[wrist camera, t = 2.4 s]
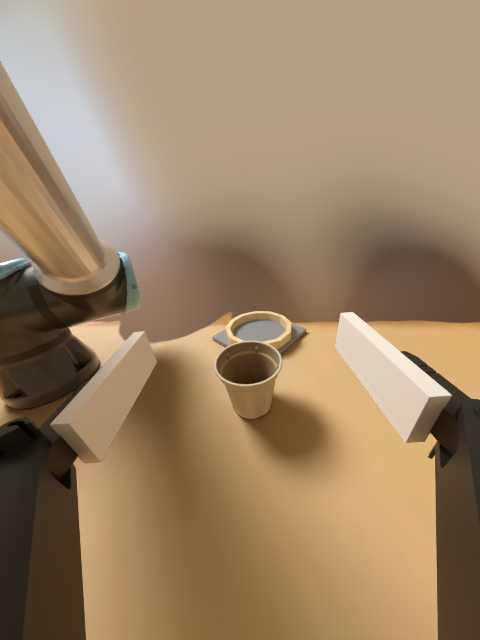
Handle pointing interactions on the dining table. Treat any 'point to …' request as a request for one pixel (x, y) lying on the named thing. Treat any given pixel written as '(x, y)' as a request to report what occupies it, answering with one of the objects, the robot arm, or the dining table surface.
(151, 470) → the dining table surface
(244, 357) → the flower pot
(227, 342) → the collar plate
